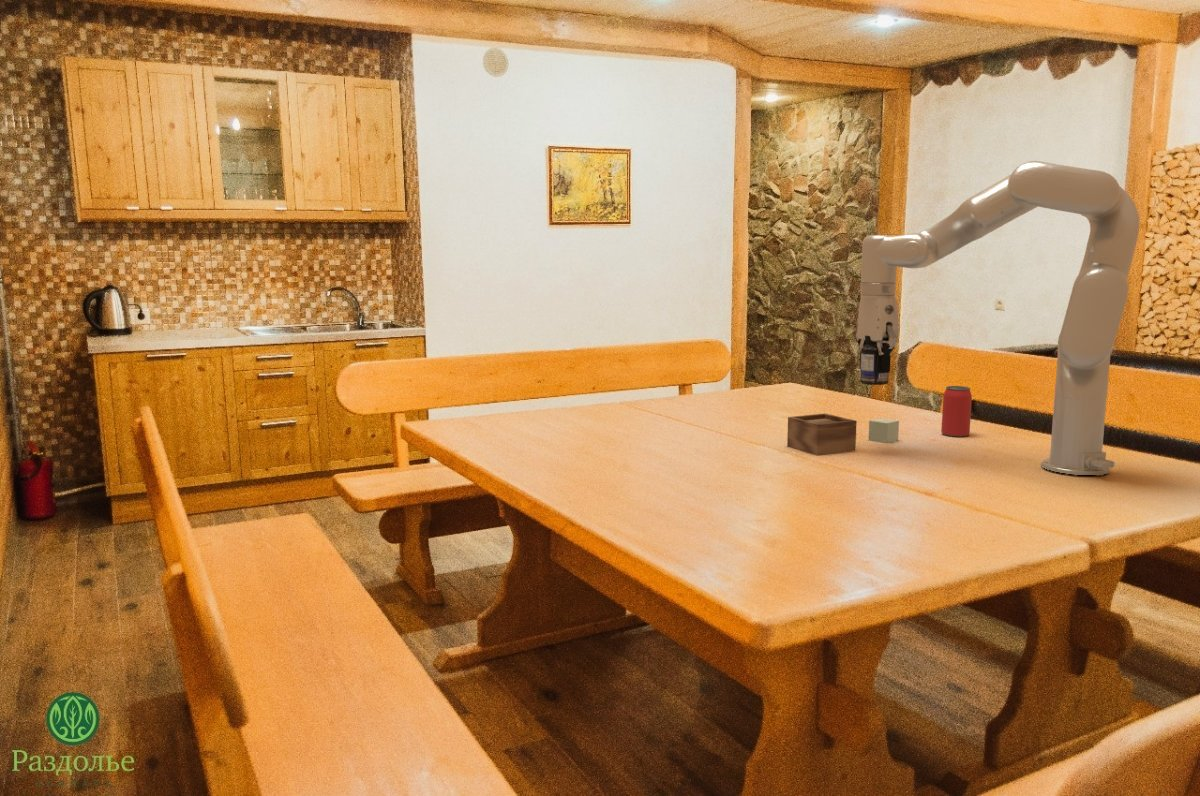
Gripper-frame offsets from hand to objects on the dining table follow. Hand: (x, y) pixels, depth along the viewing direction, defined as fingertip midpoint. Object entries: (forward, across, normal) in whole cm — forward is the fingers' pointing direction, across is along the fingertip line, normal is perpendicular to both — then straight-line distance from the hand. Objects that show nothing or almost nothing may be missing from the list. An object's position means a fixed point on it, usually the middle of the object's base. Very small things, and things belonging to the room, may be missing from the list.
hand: (874, 369), depth 203 cm
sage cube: (+19, +10, -9) cm, 23 cm away
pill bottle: (+3, 0, 0) cm, 3 cm away
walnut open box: (+19, +6, +10) cm, 22 cm away
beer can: (+19, +11, -30) cm, 37 cm away
